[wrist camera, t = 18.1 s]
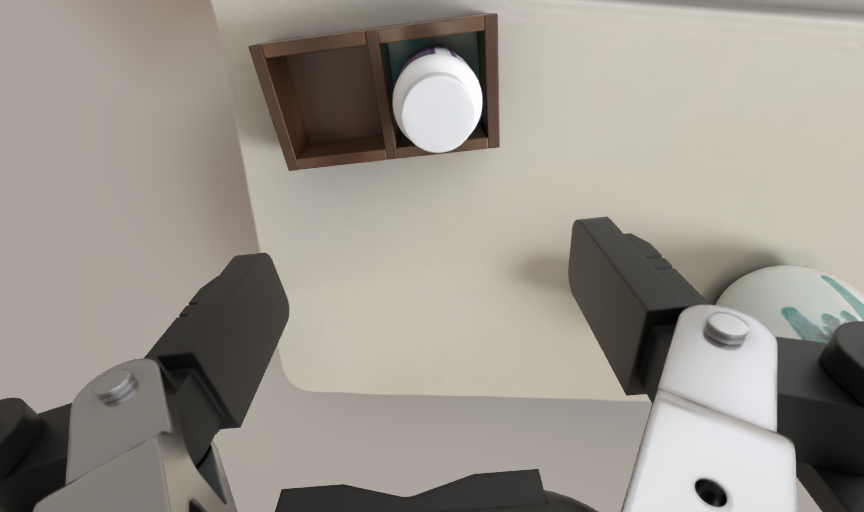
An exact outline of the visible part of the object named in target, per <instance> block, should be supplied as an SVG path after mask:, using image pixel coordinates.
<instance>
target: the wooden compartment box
mask: <svg viewBox="0 0 864 512" xmlns="http://www.w3.org/2000/svg"><path fill="white" fill-rule="evenodd" d="M428 46H443V47H447V48H449V49H451V50H453V51H455V52H456V53H458V54H459V55H460V56H461V57H462V58H463V59H464V61H465V62H466V63H467V64H468V66H469V67H470V68H471V70H472V71H473V72H474V74H475V76H476V77H477V79H478V81H479V84H480V88H481V92H482V112H481V116H480V119H479V121H478V123H477V125H476V127H475V129H474V130H473V132H472V133H471V134H470V135H469V136H468V138H467V139H466V140H465V141H464V142H463V143H462V144H461V145H460V146H458V147H457V148H455V149H453V150H451V151H448V152H442V153H451V152H460V151H469V150H478V149H487V148H497V147H500V139H499V75H498V14H496V13H483V14H476V15H468V16H460V17H453V18H445V19H437V20H430V21H422V22H414V23H407V24H399V25H391V26H384V27H376V28H369V29H361V30H353V31H346V32H338V33H330V34H323V35H315V36H307V37H300V38H292V39H284V40H277V41H271V42H266V43H261V44H256V45H251V46H249V50H250V53H251V56H252V59H253V62H254V65H255V68H256V71H257V74H258V78H259V81H260V84H261V87H262V90H263V93H264V96H265V99H266V102H267V105H268V108H269V111H270V114H271V117H272V121H273V124H274V127H275V130H276V133H277V136H278V139H279V142H280V145H281V148H282V151H283V154H284V157H285V160H286V163H287V167H288V170H289V171H292V170H299V169H309V168H317V167H326V166H335V165H344V164H353V163H362V162H371V161H380V160H387V159H397V158H407V157H416V156H425V155H434V154H442V153H434V152H429V151H426V150H423V149H421V148H419V147H418V146H416V145H415V144H414V143H413V142H412V141H411V140H409V139H408V138H407V137H406V136H405V135H404V133H403V132H402V131H401V129H400V128H399V126H398V124H397V122H396V119H395V116H394V112H393V92H394V88H395V84H396V82H397V79H398V77H399V74H400V71H401V69H402V67H403V65H404V63H405V62H406V60H407V59H408V58H409V57H410V56H411V55H412V54H413V53H415V52H416V51H417V50H419V49H421V48H424V47H428Z"/></svg>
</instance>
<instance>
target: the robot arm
mask: <svg viewBox="0 0 864 512" xmlns="http://www.w3.org/2000/svg"><path fill="white" fill-rule="evenodd" d="M568 276H569V284H570V288H571V291H572V294H573V296H574V298H575V300H576V301H577V303H578V305H579V307H580V309H581V311H582V313H583V315H584V317H585V318H586V320H587V322H588V324H589V326H590V328H591V330H592V332H593V333H594V335H595V337H596V339H597V341H598V343H599V345H600V347H601V349H602V350H603V352H604V354H605V356H606V358H607V360H608V362H609V364H610V365H611V367H612V369H613V371H614V373H615V375H616V377H617V379H618V381H619V382H620V384H621V386H622V388H623V390H624V392H625V394H626V396H627V395H639V394H647V395H648V397H649V399H650V400H651V402H652V406H651V410H650V413H649V416H648V420H647V424H646V427H645V430H644V434H643V437H642V440H641V444H640V447H639V451H638V454H637V458H636V461H635V464H634V468H633V471H632V475H631V478H630V481H629V485H628V488H627V492H626V495H625V498H624V501H623V505H622V508H621V512H797V488H796V477H797V478H798V479H799V481H800V482H801V483H802V485H803V486H804V487H805V489H806V490H807V491H808V493H809V494H810V496H811V497H812V498H813V499H814V501H815V502H816V504H817V505H818V506H819V508H820V509H821V510H822V512H864V321H854V322H848V323H844V324H842V325H840V326H839V327H838V328H837V329H836V330H835V332H834V333H833V335H832V337H831V338H830V340H829V342H828V343H823V342H815V341H807V340H799V339H791V338H783V337H776V336H774V334H773V333H772V332H771V330H770V329H769V328H767V327H766V326H765V325H764V324H763V323H761V322H760V321H759V320H757V319H755V318H754V317H752V316H750V315H748V314H746V313H744V312H741V311H738V310H736V309H732V308H729V307H724V306H719V305H710V304H709V303H708V302H707V301H706V300H705V299H704V298H703V297H702V296H701V295H700V294H699V293H698V292H697V291H696V290H695V289H694V288H693V287H692V286H691V285H690V284H689V283H688V282H687V281H686V280H685V279H684V278H683V277H682V276H681V275H680V274H679V273H678V272H677V271H676V270H675V269H672V265H671V264H670V263H669V262H668V261H667V260H666V259H665V258H662V255H661V254H660V253H659V252H658V251H657V250H656V249H655V248H654V247H653V246H652V245H651V244H650V243H648V242H646V241H644V240H642V239H640V238H638V237H636V236H634V235H633V234H631V233H630V234H623V233H622V232H621V231H620V230H619V228H618V227H617V226H616V225H615V224H614V223H613V222H612V221H611V220H610V219H609V218H608V217H599V218H589V219H580V220H576V221H575V222H574V224H573V228H572V237H571V248H570V259H569V270H568ZM288 318H289V303H288V299H287V296H286V294H285V291H284V289H283V286H282V284H281V281H280V279H279V276H278V274H277V271H276V269H275V266H274V264H273V261H272V259H271V257H270V256H269V255H268V254H267V253H257V254H248V255H238V256H235V257H234V258H233V259H232V260H231V261H230V263H229V264H228V265H227V266H226V268H225V269H224V270H223V271H222V273H221V274H220V275H219V276H217V277H216V278H215V279H213V280H212V281H210V282H209V283H208V284H206V285H205V286H204V287H202V288H201V289H200V290H199V291H198V293H197V294H196V295H195V296H194V297H193V299H192V300H191V301H190V302H189V306H186V307H185V308H184V310H183V311H182V312H181V313H180V317H179V318H176V320H175V321H174V322H173V323H172V324H171V326H170V327H169V328H168V329H167V331H166V332H165V333H164V334H163V335H162V337H161V338H160V339H159V340H158V341H157V343H156V344H155V345H154V346H153V348H152V349H151V350H150V351H149V352H148V354H147V355H146V356H145V357H144V359H135V360H131V361H127V362H125V363H122V364H120V365H117V366H115V367H113V368H111V369H109V370H107V371H105V372H104V373H102V374H101V375H99V376H98V377H96V378H95V379H93V380H92V381H91V382H90V383H88V384H87V385H86V386H85V387H84V389H82V390H81V392H80V393H79V394H78V395H77V396H76V398H75V399H74V401H73V403H70V404H67V405H64V406H61V407H58V408H55V409H51V410H48V411H45V412H42V413H39V414H37V413H35V411H33V410H32V409H31V408H30V407H29V406H28V405H27V404H26V403H25V402H24V401H23V400H22V399H19V398H7V399H2V400H0V512H237V509H236V506H235V503H234V499H233V496H232V493H231V490H230V487H229V483H228V480H227V477H226V474H225V471H224V467H223V464H222V461H221V458H220V454H219V451H218V449H217V446H216V445H215V443H214V442H213V438H214V435H215V434H216V432H217V430H218V429H227V428H239V427H241V425H242V422H243V420H244V418H245V416H246V414H247V411H248V409H249V407H250V404H251V402H252V400H253V398H254V395H255V393H256V391H257V389H258V387H259V384H260V382H261V380H262V378H263V375H264V373H265V371H266V369H267V366H268V364H269V362H270V360H271V357H272V355H273V353H274V351H275V348H276V346H277V344H278V342H279V339H280V337H281V335H282V333H283V330H284V328H285V326H286V324H287V321H288ZM275 512H598V511H596V510H595V509H593V508H591V507H589V506H588V505H586V504H583V503H581V502H579V501H577V500H575V499H573V498H570V497H567V496H564V495H561V494H558V493H555V492H551V491H546V490H543V485H542V482H541V477H540V474H539V469H533V470H521V471H507V472H495V473H483V474H473V475H470V476H467V477H465V478H462V479H459V480H456V481H454V482H451V483H448V484H446V485H443V486H440V487H437V488H434V489H431V490H429V491H426V492H423V493H420V494H418V495H415V496H411V497H400V496H395V495H390V494H386V493H381V492H376V491H372V490H367V489H362V488H357V487H353V486H348V485H344V484H343V485H330V486H317V487H304V488H292V489H282V490H281V493H280V497H279V500H278V503H277V507H276V510H275Z"/></svg>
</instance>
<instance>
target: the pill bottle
mask: <svg viewBox="0 0 864 512" xmlns="http://www.w3.org/2000/svg"><path fill="white" fill-rule="evenodd" d="M393 112H394V116H395V119H396V122H397V124H398V126H399V128H400V129H401V131H402V132H403V133H404V135H405V136H406V137H407V138H408V139H409V140H411V141H412V142H413V143H414V144H415V145H416V146H418V147H419V148H421V149H423V150H426V151H429V152H434V153H442V152H448V151H451V150H453V149H455V148H457V147H458V146H460V145H461V144H462V143H463V142H464V141H465V140H466V139H467V138H468V136H469V135H470V134H471V133H472V132H473V130H474V129H475V127H476V125H477V123H478V121H479V119H480V116H481V112H482V92H481V88H480V84H479V81H478V79H477V77H476V76H475V74H474V72H473V71H472V70H471V68H470V67H469V66H468V64H467V63H466V62H465V61H464V59H463V58H462V57H461V56H460V55H459V54H458V53H456V52H455V51H453V50H451V49H449V48H447V47H443V46H428V47H424V48H421V49H419V50H417V51H416V52H415V53H413V54H412V55H411V56H410V57H409V58H408V59H407V60H406V62H405V63H404V65H403V67H402V69H401V71H400V74H399V77H398V79H397V82H396V84H395V88H394V92H393Z"/></svg>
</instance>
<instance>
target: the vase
mask: <svg viewBox="0 0 864 512" xmlns="http://www.w3.org/2000/svg"><path fill="white" fill-rule="evenodd" d="M716 305H719V306H724V307H729V308H732V309H736V310H738V311H741V312H744V313H746V314H748V315H750V316H752V317H754V318H755V319H757V320H759V321H760V322H761V323H763V324H764V325H765V326H766V327H767V328H769V329H770V330H771V332H772V333H773V334H774V336H776V337H783V338H791V339H799V340H807V341H815V342H823V343H828V342H829V340H830V338H831V337H832V335H833V333H834V332H835V330H836V329H837V328H838V327H839V326H840V325H842V324H844V323H848V322H854V321H864V295H863V294H862V293H861V292H859V291H858V290H857V289H856V288H854V287H853V286H851V285H850V284H848V283H847V282H845V281H844V280H842V279H840V278H838V277H836V276H834V275H832V274H829V273H827V272H824V271H821V270H818V269H814V268H810V267H804V266H795V265H779V266H771V267H766V268H762V269H758V270H755V271H753V272H750V273H748V274H746V275H744V276H742V277H741V278H739V279H738V280H736V281H735V282H733V283H732V284H731V285H730V286H729V287H728V288H727V289H726V290H725V291H724V292H723V293H722V294H721V296H720V297H719V299H718V301H717V303H716Z"/></svg>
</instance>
